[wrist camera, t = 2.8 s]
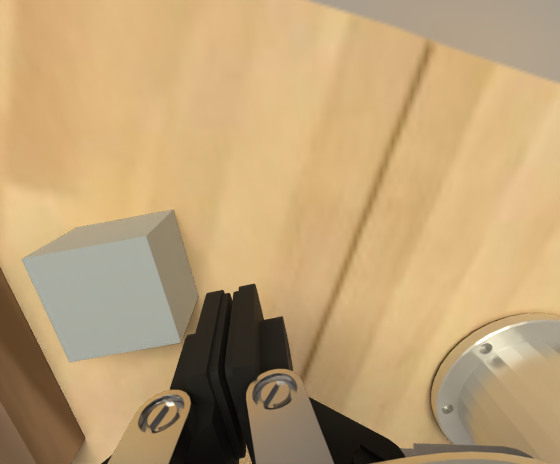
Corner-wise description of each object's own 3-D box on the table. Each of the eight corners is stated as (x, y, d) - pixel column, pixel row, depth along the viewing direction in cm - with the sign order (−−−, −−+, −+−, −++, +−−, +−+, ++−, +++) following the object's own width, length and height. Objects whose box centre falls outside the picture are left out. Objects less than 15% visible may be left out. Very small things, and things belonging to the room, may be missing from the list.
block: (173, 209, 21) (145, 236, 16) (199, 295, 22) (180, 342, 18) (77, 226, 21) (21, 259, 16) (110, 311, 23) (69, 362, 18)
